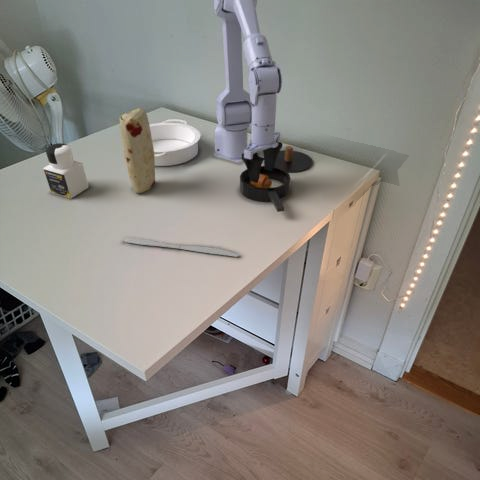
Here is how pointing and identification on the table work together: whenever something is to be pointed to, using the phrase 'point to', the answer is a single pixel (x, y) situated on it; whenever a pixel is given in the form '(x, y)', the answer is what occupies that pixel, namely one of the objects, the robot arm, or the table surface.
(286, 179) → the pan
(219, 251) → the butter knife
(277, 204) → the pan handle
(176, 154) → the pot
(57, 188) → the medicine bottle
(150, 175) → the food model
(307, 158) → the pan lid
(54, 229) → the table surface
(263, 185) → the drumstick
